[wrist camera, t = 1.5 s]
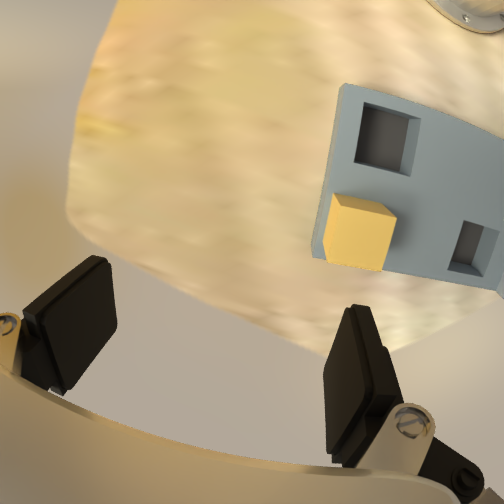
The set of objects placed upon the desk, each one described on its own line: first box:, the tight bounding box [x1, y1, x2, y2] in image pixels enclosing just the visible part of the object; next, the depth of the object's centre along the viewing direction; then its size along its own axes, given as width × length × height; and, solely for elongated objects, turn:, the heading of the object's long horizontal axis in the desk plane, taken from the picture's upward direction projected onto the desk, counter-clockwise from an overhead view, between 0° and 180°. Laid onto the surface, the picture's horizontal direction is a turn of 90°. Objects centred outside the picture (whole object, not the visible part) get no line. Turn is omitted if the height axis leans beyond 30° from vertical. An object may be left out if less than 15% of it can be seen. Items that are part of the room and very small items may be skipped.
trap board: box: [311, 83, 504, 299], centre depth 22 cm, size 14×21×6 cm, turn 82°
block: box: [323, 193, 397, 272], centre depth 22 cm, size 4×4×4 cm
